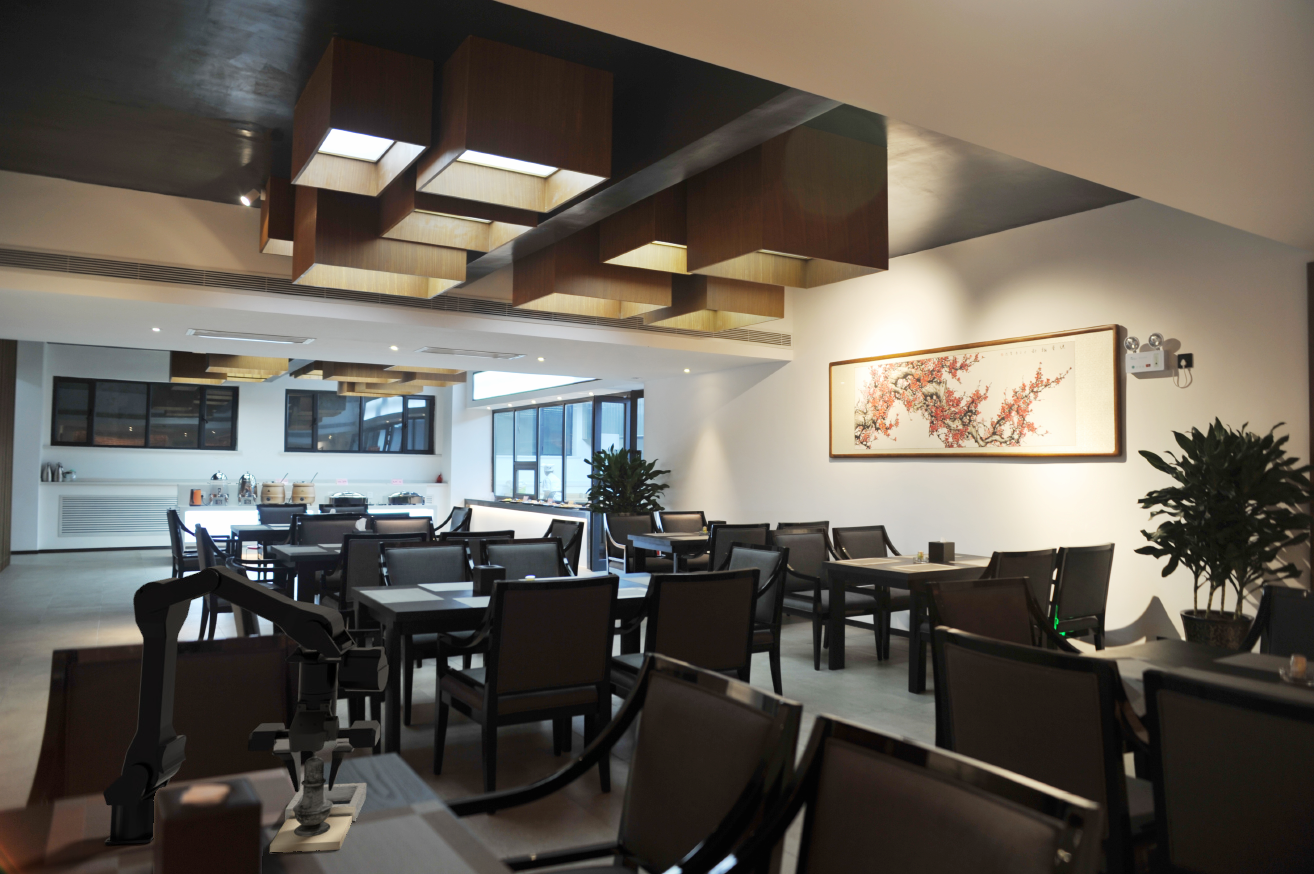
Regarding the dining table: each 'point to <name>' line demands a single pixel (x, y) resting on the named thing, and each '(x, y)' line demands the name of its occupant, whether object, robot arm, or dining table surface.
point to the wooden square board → (325, 841)
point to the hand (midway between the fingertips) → (314, 790)
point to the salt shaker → (313, 800)
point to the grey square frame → (338, 793)
